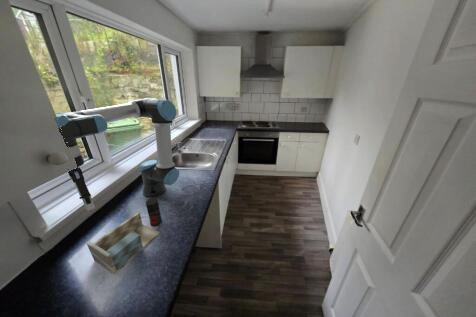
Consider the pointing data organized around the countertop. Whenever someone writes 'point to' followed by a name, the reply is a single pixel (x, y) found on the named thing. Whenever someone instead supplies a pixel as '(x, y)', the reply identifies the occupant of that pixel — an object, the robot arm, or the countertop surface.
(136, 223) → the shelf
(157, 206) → the deodorant
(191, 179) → the countertop surface
